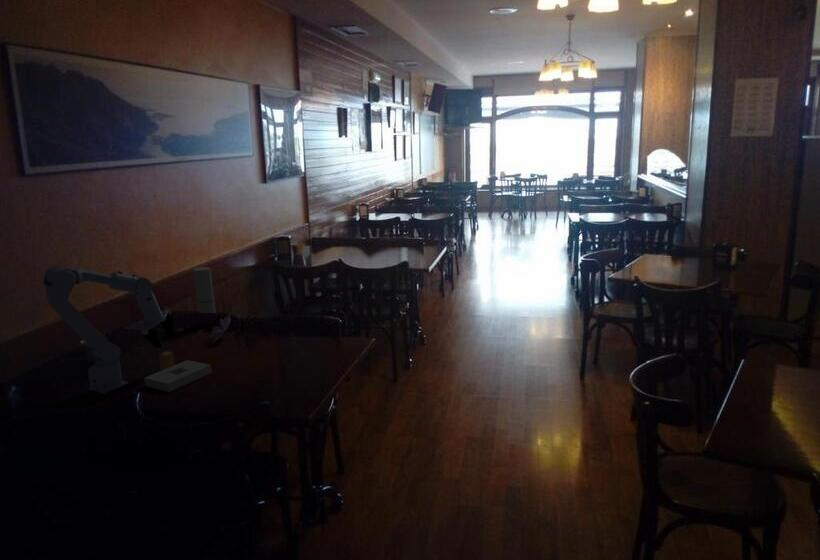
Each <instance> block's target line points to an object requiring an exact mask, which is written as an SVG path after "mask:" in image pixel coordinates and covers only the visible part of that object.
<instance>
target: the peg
mask: <svg viewBox="0 0 820 560" xmlns="http://www.w3.org/2000/svg"><path fill="white" fill-rule="evenodd" d="M158 360H159V367H160V368H159V369H160V371H162V370H164V369H167V368H169V367H172V366H174V365H176V364H175V357H174V352H171V351H167V350H166V351H164V352H161V353H159V354H158Z"/></svg>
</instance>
